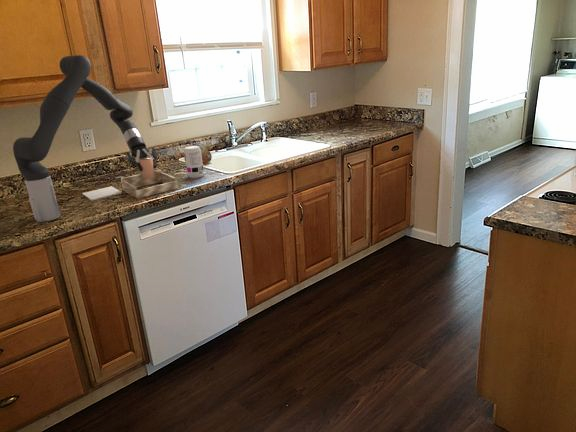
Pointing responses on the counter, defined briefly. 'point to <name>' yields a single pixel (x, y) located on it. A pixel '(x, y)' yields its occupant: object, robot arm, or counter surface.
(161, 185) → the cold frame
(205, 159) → the tin
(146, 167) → the pot
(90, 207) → the counter surface
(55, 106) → the robot arm
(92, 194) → the tile
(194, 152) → the supplement can
